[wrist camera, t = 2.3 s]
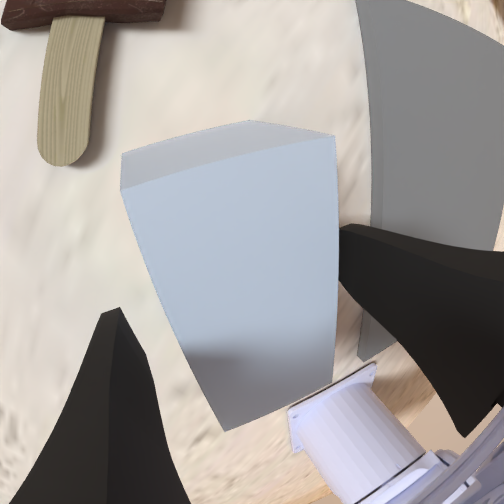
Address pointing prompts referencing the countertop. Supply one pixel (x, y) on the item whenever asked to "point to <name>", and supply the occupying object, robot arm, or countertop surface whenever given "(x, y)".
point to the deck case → (243, 258)
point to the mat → (432, 132)
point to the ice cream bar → (71, 63)
